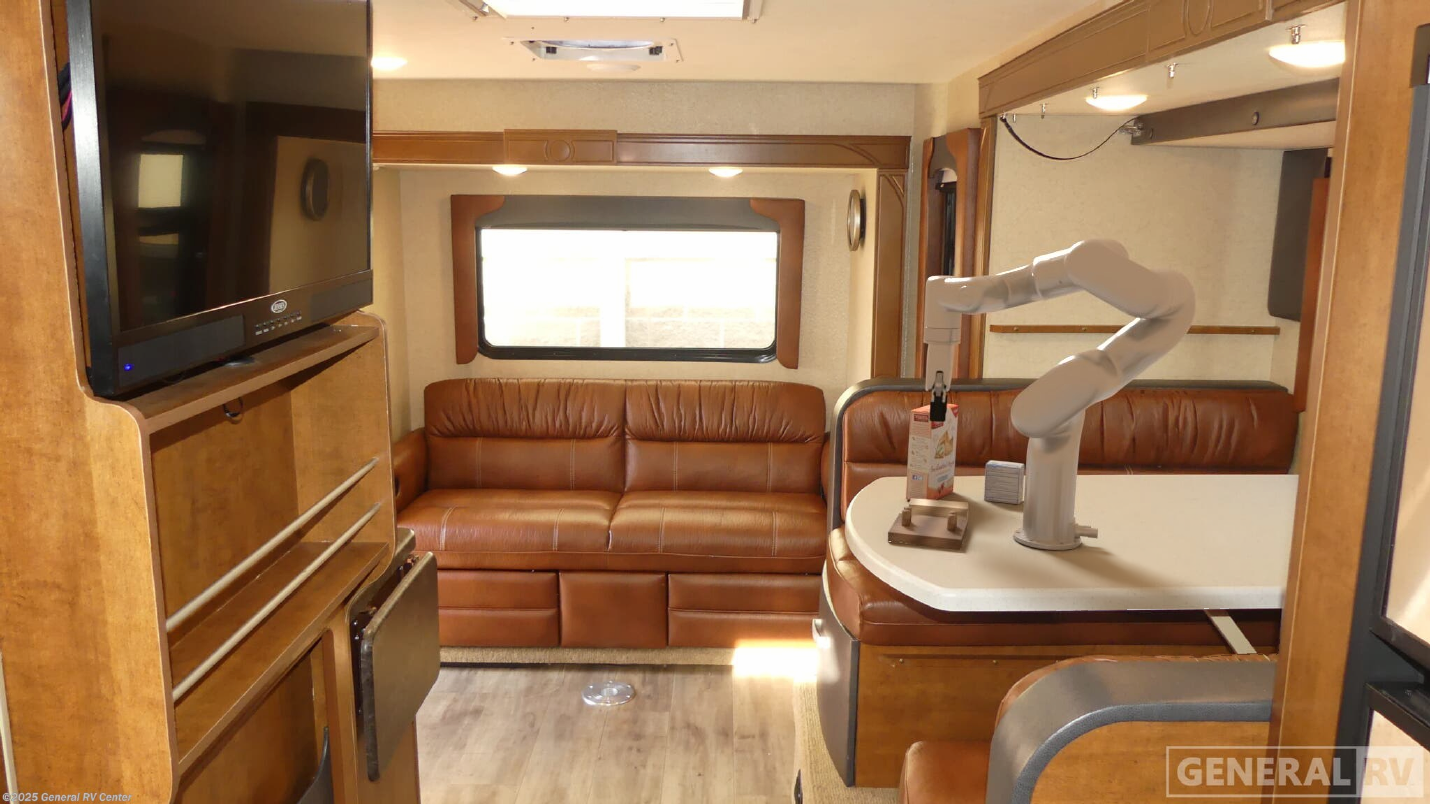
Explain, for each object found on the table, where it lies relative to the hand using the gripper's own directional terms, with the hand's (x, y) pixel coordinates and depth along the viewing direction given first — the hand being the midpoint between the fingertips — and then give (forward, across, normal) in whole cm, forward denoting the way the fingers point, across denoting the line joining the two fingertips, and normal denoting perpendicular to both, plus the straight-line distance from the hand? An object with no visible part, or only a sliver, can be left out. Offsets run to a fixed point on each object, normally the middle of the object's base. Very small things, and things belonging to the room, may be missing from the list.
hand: (938, 416), depth 212 cm
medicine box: (+22, -17, +15) cm, 32 cm away
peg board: (+22, +14, 0) cm, 26 cm away
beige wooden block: (+22, +2, +1) cm, 22 cm away
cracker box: (+22, -17, -1) cm, 28 cm away
